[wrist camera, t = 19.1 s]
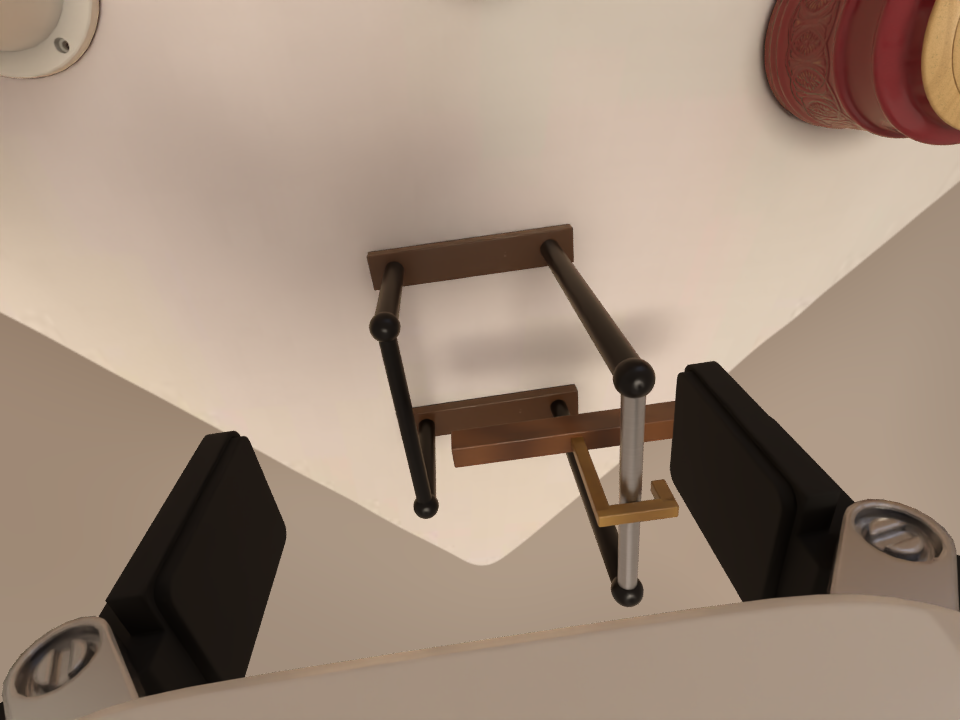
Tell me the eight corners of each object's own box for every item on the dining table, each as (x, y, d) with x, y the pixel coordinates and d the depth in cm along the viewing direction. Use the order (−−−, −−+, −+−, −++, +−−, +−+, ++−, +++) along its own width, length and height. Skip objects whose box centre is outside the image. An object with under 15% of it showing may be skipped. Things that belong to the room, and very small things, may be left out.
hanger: (454, 449, 37) (457, 552, 29) (450, 430, 36) (453, 531, 28) (739, 410, 37) (819, 503, 29) (742, 391, 36) (824, 481, 28)
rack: (409, 433, 53) (397, 654, 33) (367, 252, 44) (316, 408, 24) (575, 408, 54) (662, 613, 34) (569, 223, 44) (684, 355, 24)
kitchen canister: (890, -138, 34) (1261, -299, 19) (964, 25, 39) (1304, 1, 24) (725, 33, 38) (921, 13, 23) (811, 161, 43) (1020, 214, 28)
